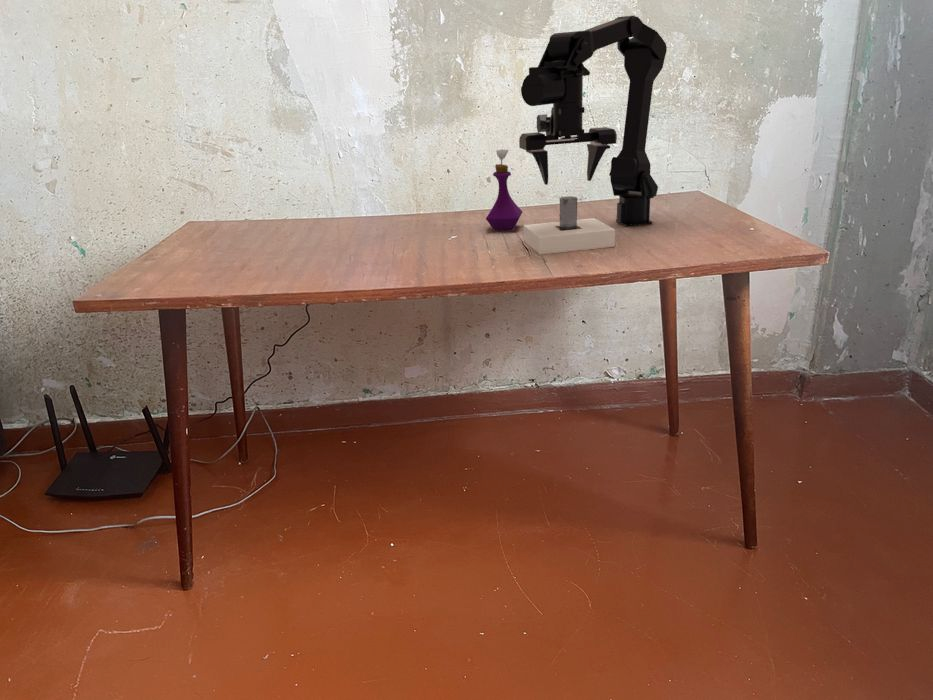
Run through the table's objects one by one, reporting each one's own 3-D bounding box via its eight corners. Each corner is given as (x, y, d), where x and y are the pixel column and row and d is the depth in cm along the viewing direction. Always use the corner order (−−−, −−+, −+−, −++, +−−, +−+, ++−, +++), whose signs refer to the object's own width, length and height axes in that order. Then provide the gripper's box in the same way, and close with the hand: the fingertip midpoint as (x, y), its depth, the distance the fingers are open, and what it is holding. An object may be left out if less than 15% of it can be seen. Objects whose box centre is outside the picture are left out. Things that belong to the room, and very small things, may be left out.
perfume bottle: (518, 232, 161) (516, 151, 154) (486, 232, 162) (482, 152, 156) (522, 225, 168) (520, 147, 161) (491, 225, 169) (488, 148, 162)
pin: (573, 238, 151) (573, 195, 147) (579, 242, 148) (579, 198, 144) (557, 239, 150) (557, 197, 147) (562, 243, 147) (562, 200, 144)
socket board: (593, 233, 156) (594, 218, 155) (614, 246, 145) (615, 229, 144) (523, 241, 153) (523, 225, 152) (539, 254, 143) (539, 237, 141)
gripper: (598, 97, 147) (596, 173, 153) (511, 103, 144) (513, 180, 150) (618, 99, 137) (616, 180, 143) (526, 105, 134) (527, 188, 140)
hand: (567, 182), depth 144 cm, fingers open, 9 cm apart
